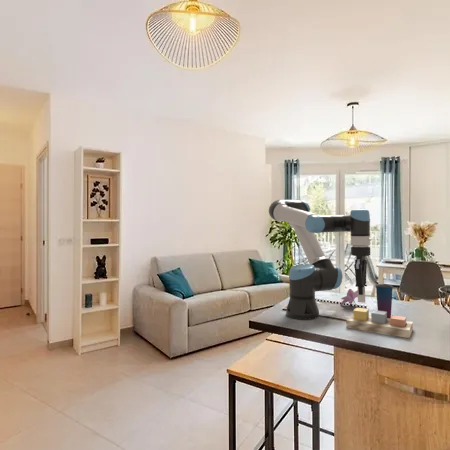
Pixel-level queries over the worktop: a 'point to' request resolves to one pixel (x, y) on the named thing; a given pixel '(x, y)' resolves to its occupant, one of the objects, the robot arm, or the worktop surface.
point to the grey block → (379, 316)
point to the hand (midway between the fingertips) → (361, 301)
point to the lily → (350, 297)
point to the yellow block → (361, 314)
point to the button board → (380, 327)
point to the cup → (384, 298)
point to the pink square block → (398, 321)
